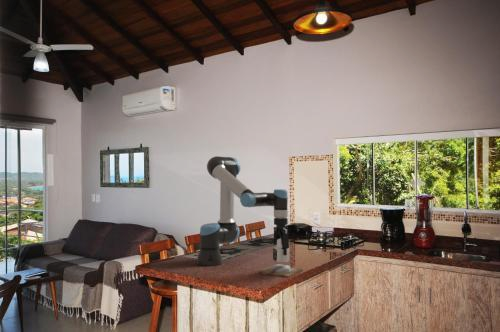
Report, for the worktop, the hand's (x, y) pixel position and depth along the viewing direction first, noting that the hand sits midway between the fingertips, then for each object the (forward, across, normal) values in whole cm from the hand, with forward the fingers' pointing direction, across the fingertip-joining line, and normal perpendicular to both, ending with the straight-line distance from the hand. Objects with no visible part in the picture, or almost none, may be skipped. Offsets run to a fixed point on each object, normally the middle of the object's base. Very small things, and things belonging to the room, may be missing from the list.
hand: (280, 259), depth 200 cm
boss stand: (+7, 0, 0) cm, 7 cm away
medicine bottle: (+1, 0, 0) cm, 1 cm away
